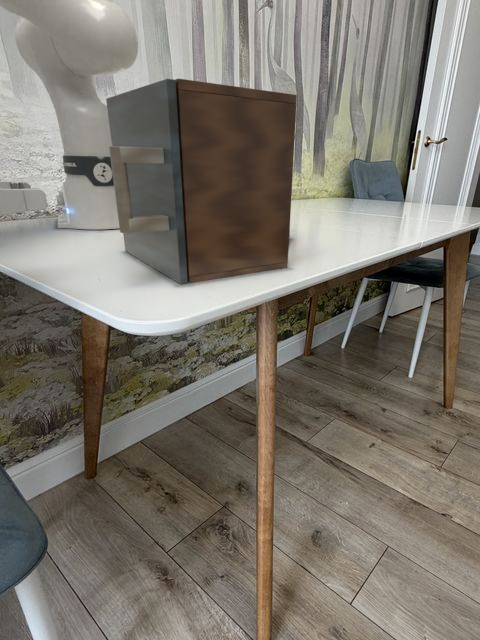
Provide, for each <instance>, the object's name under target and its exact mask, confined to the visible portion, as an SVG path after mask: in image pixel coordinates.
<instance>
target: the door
mask: <svg viewBox="0 0 480 640" xmlns="http://www.w3.org/2000/svg"><path fill="white" fill-rule="evenodd" d="M105 100H106V106H107V110H108V118H109V125H110V133H111V141H112V146H110V147H109V151H110V158H111V166H112V174H113V181H114V189H115V197H116V204H117V212H118V220H119V227H120V228H119V232H120V233H121V234H122V235H123V244H124V249H125V250H124V251H125V252H126V253H127V254H130V255H131V256H132V257H134V258H136V259H138V260H140V261H141V262H143V263H145V264H146V265H148V266H150V267H151V268H153V269H154V270H157V271H158V272H160V273H161V274H163V275H165V277H168V278H170V279H171V280H173V281H174V282H176V283H178V284H179V285H185V284H189V283H188V280H187V263H186V247H185V230H184V213H183V197H182V180H181V163H180V147H179V130H178V113H177V97H176V81H175V79H171V78H165V79H162V80H159V81H156V82H153V83H149V84H147V85H144V86H140V87H137V88H134V89H131V90H128V91H126V92H125V91H124V92H122V93H119V94H116V95H113V96H110V97H107V98H106V99H105Z"/></svg>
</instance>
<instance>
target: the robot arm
mask: <svg viewBox="0 0 480 640" xmlns="http://www.w3.org/2000/svg"><path fill="white" fill-rule="evenodd" d="M0 7H1V8H3V9H4V10H5V11H8V12H9V13H11V14H14V15H16V16H19V17H21V18H19V19H18V20H17V22H16V24H15V28H14V41H15V45H16V47H17V50H18V53H19V54H20V56H21V58H22V60H23V61H24V62H25V64H26V65H27V66H28V67H29V68H30V69H31V70H32V71H33V72H34V73H35V74H36V75H37V76H38V78H39V79H40V80H41V83H42V84H43V86H44V88H45V90H46V92H47V94H48V96H49V98H50V100H51V103H52V105H53V108H54V112H55V115H56V118H57V125H58V128H59V134H60V138H61V143H62V148H63V155H62V166H63V172H64V174H65V175H66V176H65V181H64V182H62V185H61V190H60V191H58V194H56V195H55V197H56V202H57V206H59V207H61V208H60V210H61V212H62V214H59V215H58V217H57V228H58V229H74V230H75V229H76V230H91V231H92V230H95V231H97V230H99V231H100V230H115V229H120V227H119V220H118V212H117V204H116V197H115V189H114V181H113V174H112V166H111V158H110V151H109V147H110V146H112V141H111V133H110V125H109V118H108V110H107V104H105V103H103V102H102V100H101V99H100V97H99V95H98V94H97V91H96V88H95V86H94V82H93V78H94V77H110V76H114V75H117V74H120V73H121V72H124V71H126V70H128V69H130V68H131V67H133V66H134V64H135V63H136V61H137V57H138V53H139V41H138V35H137V31H136V28H135V25H134V23H133V21H132V19H131V17H130V16H129V14H128V13H127V12H126V10H125V9H124V8H123V7H122V6H121V5H120V4H117V3H115V2H113V1H111V0H0ZM48 207H49V206H48V199H47V195H46V193H45V191H44V190H43V189H40V188H38V187H37V188H32V187H31V185H30V184H29V183H28V182H26V181H6V180H0V216H9V215H10V216H11V215H15V214H16V215H17V214H21V213H26V212H35V211H45V210H47V209H48Z"/></svg>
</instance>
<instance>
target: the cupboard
mask: <svg viewBox="0 0 480 640" xmlns="http://www.w3.org/2000/svg"><path fill="white" fill-rule="evenodd" d="M174 80H175V81H176V97H177V113H178V130H179V147H180V163H181V180H182V197H183V213H184V230H185V247H186V263H187V280H188V283H187V284H195V283H201V282H208V281H214V280H215V281H216V280H220V279H221V280H222V279H227V278H233V277H238V276H239V277H240V276H247V275H252V274H257V273H265V272H270V271H276V270H277V271H278V270H283V269H288V262H289V249H290V248H289V247H290V237H289V232H290V230H291V213H292V211H291V210H292V191H293V176H294V175H293V174H294V158H295V157H294V156H295V137H296V121H297V119H296V118H297V99H298V95H297V94H293V93H285V92H278V91H271V90H264V89H257V88H249V87H244V86H243V87H242V86H235V85H228V84H222V83H213V82H208V81H199V80H192V79H185V78H176V79H174ZM290 233H291V232H290Z"/></svg>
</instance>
